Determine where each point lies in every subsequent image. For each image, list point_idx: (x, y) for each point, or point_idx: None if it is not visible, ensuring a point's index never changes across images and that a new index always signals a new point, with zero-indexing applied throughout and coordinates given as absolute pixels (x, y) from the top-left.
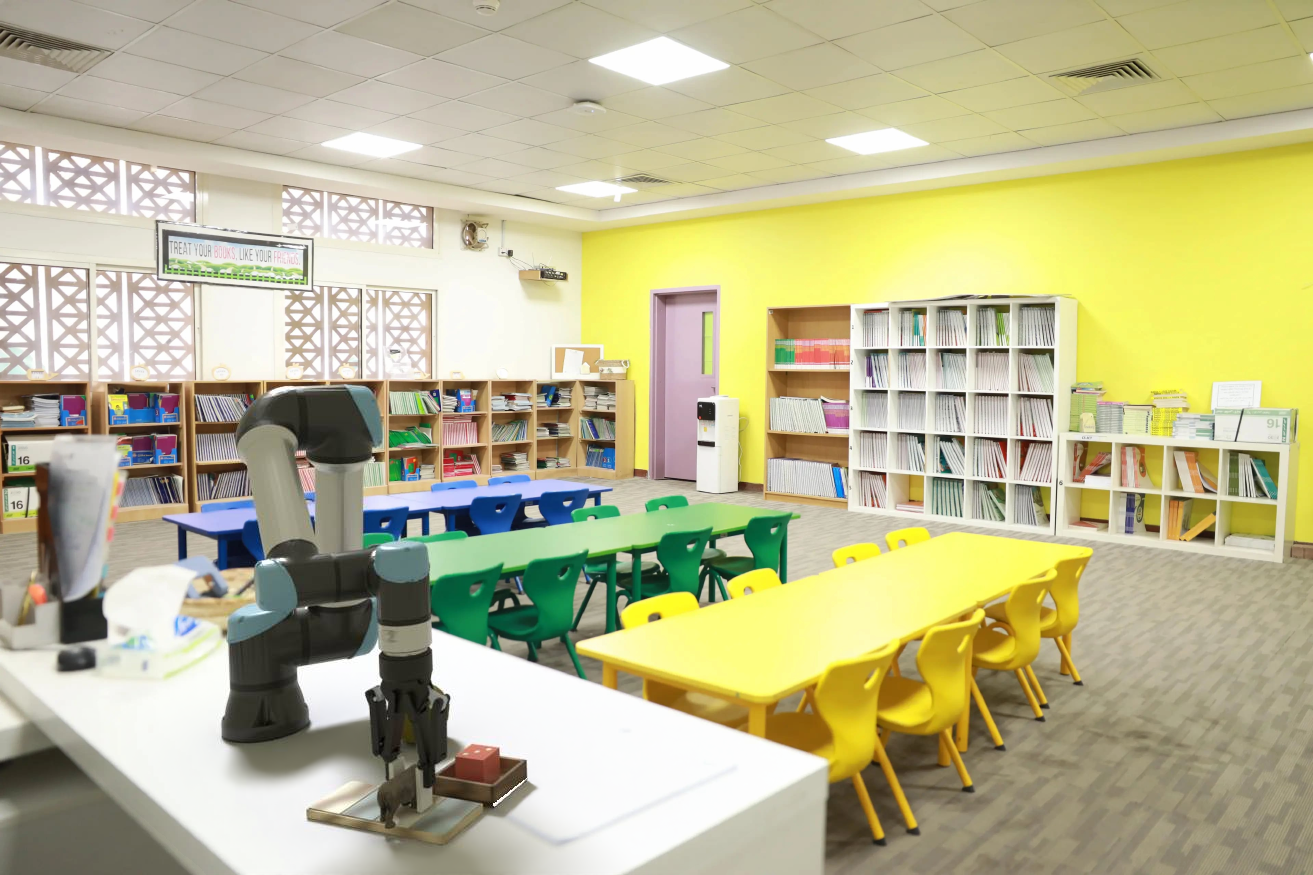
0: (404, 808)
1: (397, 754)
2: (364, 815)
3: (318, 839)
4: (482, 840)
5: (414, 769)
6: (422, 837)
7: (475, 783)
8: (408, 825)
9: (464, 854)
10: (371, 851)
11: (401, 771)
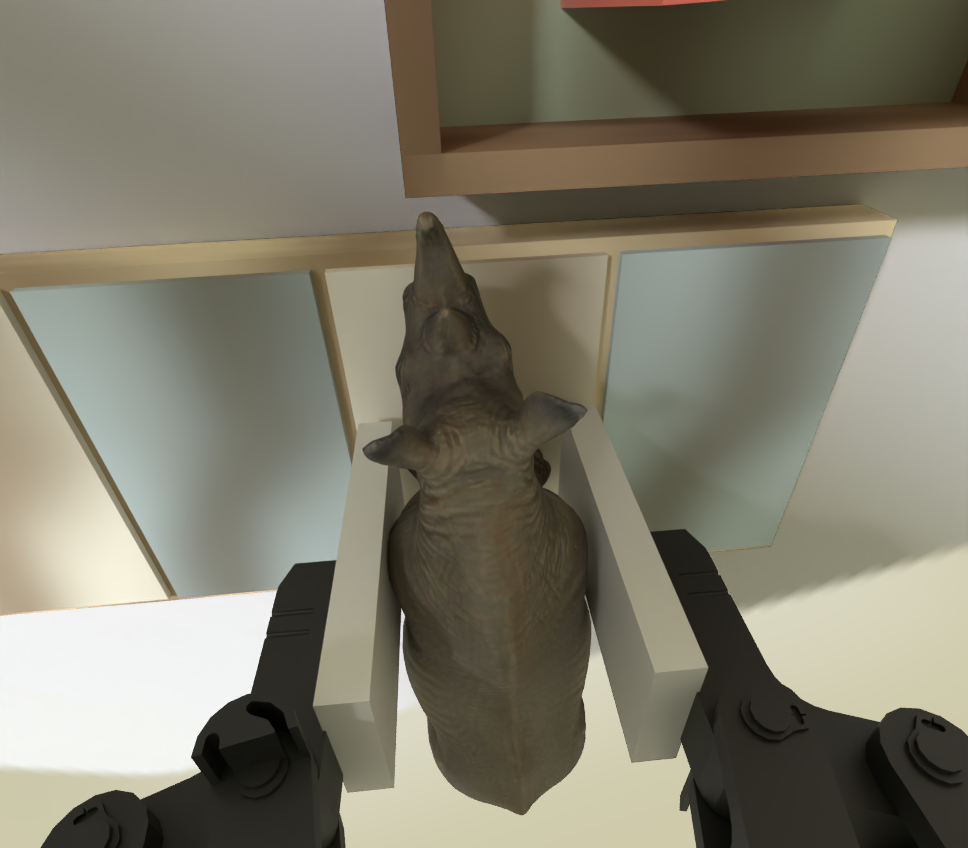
0: None
1: (321, 772)
2: None
3: (242, 648)
4: (915, 440)
5: (539, 652)
6: None
7: (892, 165)
8: None
9: (858, 532)
10: None
11: (384, 616)
